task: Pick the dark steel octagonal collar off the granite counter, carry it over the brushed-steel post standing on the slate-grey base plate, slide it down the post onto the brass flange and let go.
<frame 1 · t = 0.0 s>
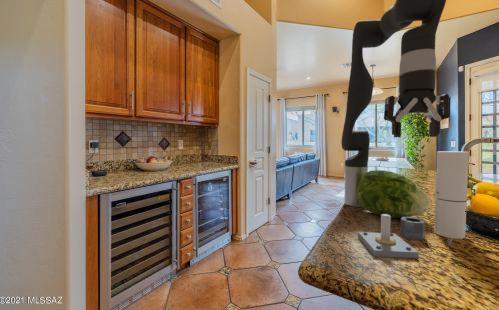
hand: (415, 137, 61), 29 cm above the countertop, fingers open, 8 cm apart
lettuce: (390, 216, 90), on the countertop
collar: (412, 236, 71), on the countertop
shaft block: (385, 246, 64), on the countertop
cylindrical container: (449, 234, 72), on the countertop
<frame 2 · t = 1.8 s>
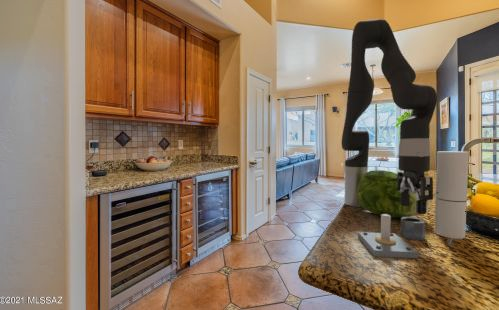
hand: (412, 209, 70), 8 cm above the countertop, fingers open, 8 cm apart
nothing on the countertop moved.
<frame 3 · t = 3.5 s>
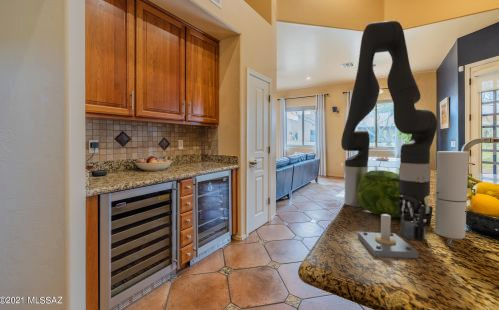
hand: (412, 234, 71), 1 cm above the countertop, fingers closed on collar, 5 cm apart
collar: (412, 236, 71), on the countertop, touching gripper
everything else where it was.
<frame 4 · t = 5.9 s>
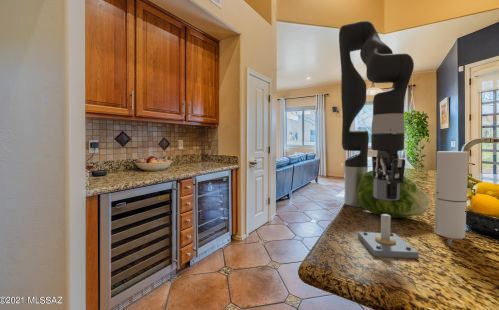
hand: (386, 195, 63), 14 cm above the countertop, fingers closed on collar, 5 cm apart
collar: (386, 197, 63), point 13 cm above the countertop, touching gripper
everything else where it was.
when the fingers open (4 cm above the countertop, at t = 8.3 s): collar drops 2 cm, resting on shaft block.
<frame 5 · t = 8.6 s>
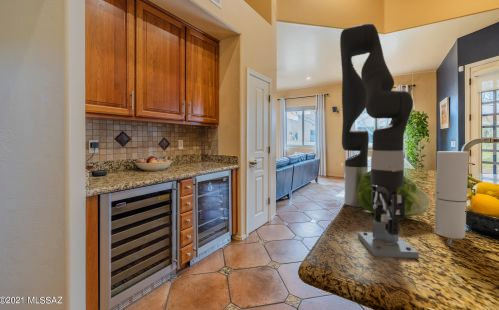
hand: (385, 228, 64), 5 cm above the countertop, fingers open, 8 cm apart
collar: (385, 238, 64), point 2 cm above the countertop, touching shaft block
everything else where it was.
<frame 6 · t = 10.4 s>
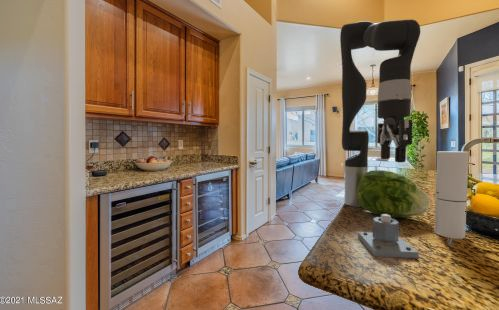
hand: (392, 160, 64), 23 cm above the countertop, fingers open, 8 cm apart
nothing on the countertop moved.
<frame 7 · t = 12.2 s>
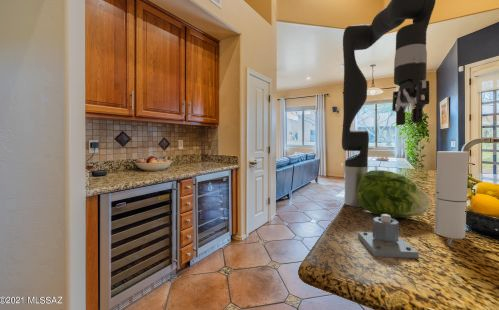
hand: (408, 123, 67), 33 cm above the countertop, fingers open, 8 cm apart
nothing on the countertop moved.
at the end: collar 0.1 cm from the target spot, point 2.1 cm above the countertop; collar tilted 0°; the gripper is holding nothing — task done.
